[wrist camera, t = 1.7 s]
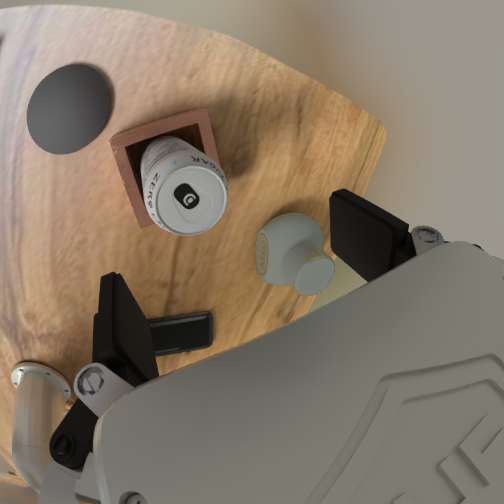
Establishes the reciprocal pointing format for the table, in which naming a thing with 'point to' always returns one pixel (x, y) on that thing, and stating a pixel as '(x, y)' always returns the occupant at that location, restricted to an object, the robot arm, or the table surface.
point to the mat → (68, 109)
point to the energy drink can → (182, 186)
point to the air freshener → (293, 254)
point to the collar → (120, 141)
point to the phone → (181, 333)
